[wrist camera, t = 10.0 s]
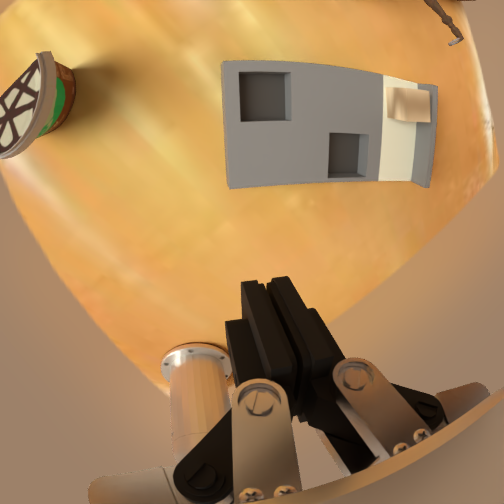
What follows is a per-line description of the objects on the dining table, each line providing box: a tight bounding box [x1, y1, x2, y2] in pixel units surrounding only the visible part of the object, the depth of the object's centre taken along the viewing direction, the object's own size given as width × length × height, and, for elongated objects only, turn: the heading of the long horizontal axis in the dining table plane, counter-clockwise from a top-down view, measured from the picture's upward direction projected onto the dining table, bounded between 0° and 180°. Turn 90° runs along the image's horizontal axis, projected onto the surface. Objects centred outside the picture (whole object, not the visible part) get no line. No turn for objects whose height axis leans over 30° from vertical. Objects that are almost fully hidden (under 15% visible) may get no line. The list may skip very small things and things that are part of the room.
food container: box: [0, 51, 76, 159], centre depth 19 cm, size 12×6×10 cm, turn 118°
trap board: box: [221, 60, 438, 189], centre depth 29 cm, size 14×26×6 cm, turn 92°
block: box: [385, 87, 430, 122], centre depth 27 cm, size 4×4×4 cm
